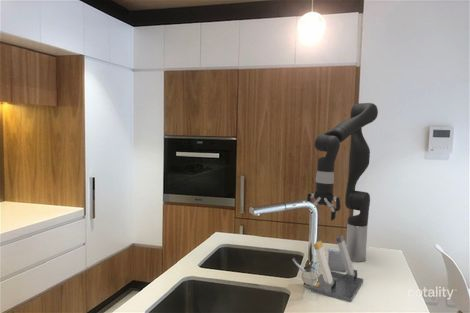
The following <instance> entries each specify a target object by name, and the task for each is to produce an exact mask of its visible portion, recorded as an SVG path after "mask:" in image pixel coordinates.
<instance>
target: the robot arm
mask: <svg viewBox="0 0 470 313" xmlns="http://www.w3.org/2000/svg"><path fill="white" fill-rule="evenodd" d="M378 115H379V109H378V107H377V105H376V104H375V103H372V102H364V103H363V102H362V103H361V102H359V103H355V104H353V105H352V107H351V110H350V118H349V119H346V120H344V121H341V122H340V123H338V124H337V125H335V126H334V127H333V128H331V129H330V130H326V131H325V132H323V133H320V134H319V135H318V136H317V137H316V138H315V140H314V147H315V149H316V150H317V151H319V152H326V154H325V156H321V157H319V158H318V159H317V167H316V176H315V190H314V191H315V192H314V193H312V192H308V193H307V198H306V202H307V201H310V202H311V203H312V199H313V198H314V199H315V201H314V202H313V203H312V204H314V205H315V207H316V206H317V205H323V206H327V207H328V208H329V209H330V211H331V213H330V221H335V219H336V214H337V213H336V212H340V210H341V196H339V195H338V196H334V187H335V186H334V185H335V183H334V182H335V162H336V160H337V156H338V153H339V150H340V146H341V143H342V142H344V141H345V140H346V139H347V138H348V137H350V144H349V145H350V146H349V157H348V174H347V176H348V177H347V184H346V190H345V197H344V198H345V199H344V205H345V208H347V209H348V210H354V211H359V214H355V215H350V216H348V217H347V226H346V227H347V228H346V241H345V244H346V247H347V250H348V253H349V257H350V260H351V262H358V263H361V262H365V261H366V259H367V258H366V257H367V256H366V255H367V241H368V240H367V239H368V224H369V223H368V222H369V213H370V212H369V211H370V206H371V197H370V196H371V195H370V193H369V192H366V191H361V190H360V191H359V190H356V186H357V183H358V181H359V179H360V177H361V176H362V175H363V174H364V173H365V171H367V169H368V167H369V164H370V158H371V157H370V156H371V155H370V154H371V151H370V147H369V145H368V143H367V140H366V139H365V137H364V134H363V131H362V130H363V129H362V128H364V127H365V126H367V125H369V124H371V123H373V122H374V121H375V120H376V119H377V117H378ZM333 201H334V202H335V204H334V203H333Z"/></svg>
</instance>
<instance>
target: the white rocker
mask: <svg viewBox="0 0 470 313" xmlns="http://www.w3.org/2000/svg"><path fill="white" fill-rule="evenodd" d="M316 242H317V243H316ZM316 242H315V243H313V247H314V251H315V253H316V258H317V260H318V264H319V268H320V272H321V274H322V275H323V278H324V282H325V283H328V284H332V286H333V285H334V281H333V279H332V275H331V272H330V271H331V270H330V269H329V265H328V258H327V257H326V256H327V255H326V252H325V249H324V245H323V242H322V240H319V241H316Z"/></svg>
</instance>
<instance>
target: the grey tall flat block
mask: <svg viewBox="0 0 470 313" xmlns="http://www.w3.org/2000/svg"><path fill="white" fill-rule="evenodd" d="M335 239H336V244H337V246H338V249H339V250H340V253H341V256H342V260H343V263H344V266H345V270H346V274H349V275H353V276H354V277H355V275H356V274H355V272H354V270H355V269H354V268H353V265H352V261H351V260H350V257H349V253H348V250H347V247H346V241H345V237H344V234H341V235H338V236H337V237H335ZM353 269H354V270H353Z"/></svg>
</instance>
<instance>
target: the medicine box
mask: <svg viewBox="0 0 470 313" xmlns="http://www.w3.org/2000/svg"><path fill="white" fill-rule="evenodd" d="M327 262H328V265H329V269H330V271H337V272H339V271H340V272H346V270H345V266H344V263H343V260H342V256H341V253H340V250H339V248H331V247H329V248H328V257H327Z"/></svg>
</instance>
